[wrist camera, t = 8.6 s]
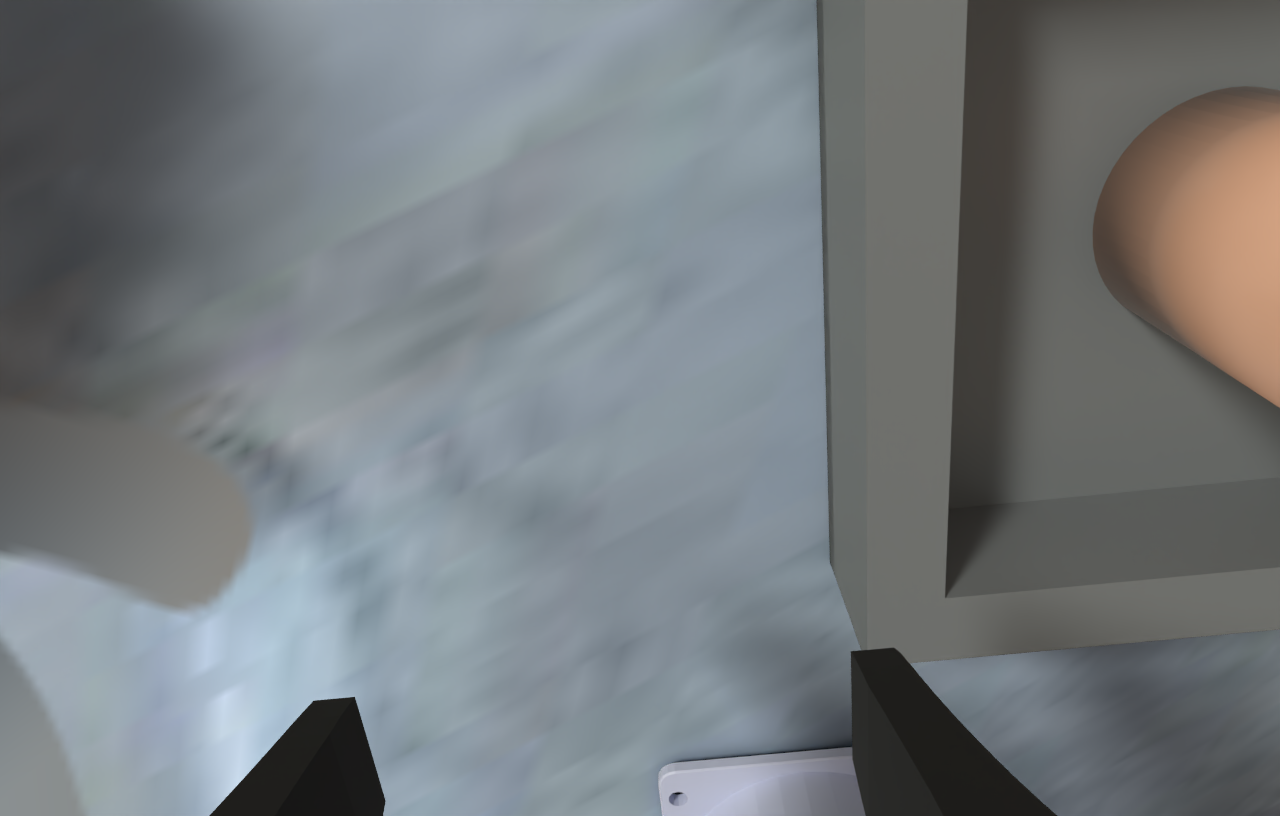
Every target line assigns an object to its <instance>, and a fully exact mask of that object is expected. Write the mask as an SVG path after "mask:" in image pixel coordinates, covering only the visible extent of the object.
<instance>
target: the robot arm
mask: <svg viewBox="0 0 1280 816" xmlns="http://www.w3.org/2000/svg"><path fill="white" fill-rule="evenodd" d="M851 684H852V747H846V748H835V749H824V750H813V751H801V752H790V753H779V754H768V755H756V756H745V757H734V758H722V759H711V760H700V761H689V762H677V763H671V764H668V765H666V766H664V767H663V768H662V769H661V770H660V772H659V775H658V785H659V793H660V801H661V809H662V816H1057V815H1056V814H1055V813H1054V812H1052V811H1051V810H1050V809H1049V808H1048V807H1047V806H1046V805H1044V804H1043V803H1042V802H1041V801H1040V800H1039V799H1038V798H1037V797H1036V796H1034V795H1033V794H1032V793H1031V792H1030V791H1029V790H1028V789H1027V788H1026V787H1025V786H1024V785H1023V784H1021V783H1020V782H1019V781H1018V780H1017V779H1016V778H1015V777H1014V776H1013V775H1012V774H1011V773H1010V772H1009V771H1008V770H1007V769H1006V768H1005V767H1004V766H1003V765H1002V764H1001V763H1000V762H999V761H997V760H996V759H995V758H994V757H993V755H992V754H991V753H990V752H989V751H988V750H987V749H986V748H985V747H984V746H983V745H982V744H981V743H980V742H979V741H978V740H977V739H976V738H975V737H974V736H973V735H972V734H971V733H970V732H969V731H968V730H967V729H966V728H965V727H964V726H963V724H962V723H961V722H960V721H959V720H958V719H957V718H956V717H955V716H954V715H953V714H952V713H951V711H950V710H949V709H948V708H947V707H946V706H945V705H944V704H943V702H942V701H941V700H940V699H939V698H938V697H937V696H936V695H935V693H934V692H933V691H932V690H931V689H930V688H929V686H928V685H927V684H926V683H925V682H924V681H923V679H922V678H921V677H920V676H919V675H918V673H917V672H916V671H915V670H914V668H913V667H912V666H911V665H910V664H909V662H908V661H907V660H906V659H905V657H904V656H903V655H902V654H901V653H900V652H899V651H898V650H896V649H895V648H894V647H893V648H883V649H872V650H861V651H851ZM676 792H682V793H683V794H680V795H675V794H672V793H676ZM384 806H385V798H384V794H383V791H382V788H381V784H380V781H379V778H378V774H377V771H376V767H375V764H374V761H373V757H372V754H371V750H370V747H369V744H368V740H367V737H366V733H365V730H364V727H363V723H362V720H361V716H360V713H359V710H358V706H357V703H356V700H355V697H350V698H339V699H328V700H317V701H313V702H312V703H311V704H310V705H309V706H308V708H307V709H306V710H305V711H304V712H303V713H302V714H301V715H300V716H299V717H298V718H297V720H296V721H295V722H294V723H293V724H292V725H291V726H290V727H289V729H288V730H287V731H286V732H285V733H284V734H283V735H282V736H281V738H280V739H279V740H278V741H277V742H276V743H275V744H274V745H273V747H272V748H271V749H270V750H269V751H268V752H267V753H266V754H265V756H264V757H263V758H262V759H261V760H260V761H259V762H258V763H257V764H256V766H255V767H254V768H253V769H252V770H251V771H250V772H249V773H248V774H247V776H246V777H245V778H244V779H243V780H242V781H241V782H240V783H239V784H238V785H237V786H236V788H235V789H234V790H233V791H232V792H231V793H230V794H229V795H228V796H227V797H226V798H225V800H224V801H223V802H222V803H221V804H220V805H219V806H218V807H217V808H216V809H215V810H214V811H213V813H212V814H211V815H210V816H383V812H384Z"/></svg>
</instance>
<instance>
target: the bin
mask: <svg viewBox="0 0 1280 816" xmlns="http://www.w3.org/2000/svg"><path fill="white" fill-rule="evenodd" d="M817 29H818V72H819V115H820V157H821V200H822V243H823V285H824V328H825V371H826V414H827V456H828V499H829V542H830V563H831V566H832V569H833V572H834V575H835V577H836V580H837V583H838V586H839V589H840V591H841V594H842V597H843V600H844V603H845V605H846V608H847V611H848V614H849V617H850V620H851V622H852V625H853V628H854V631H855V634H856V636H857V639H858V642H859V645H860V648H861V650H872V649H883V648H893V647H894V648H895V649H896V650H898V651H899V652H900V653H901V654H902V655H903V656H904V657H905V659H906V660H907V661H908V662H909V663H917V662H928V661H939V660H950V659H961V658H972V657H983V656H994V655H1005V654H1016V653H1027V652H1038V651H1048V650H1059V649H1070V648H1081V647H1092V646H1103V645H1114V644H1125V643H1136V642H1147V641H1158V640H1169V639H1180V638H1191V637H1202V636H1213V635H1224V634H1235V633H1245V632H1256V631H1267V630H1278V629H1280V408H1279V407H1278V406H1276V405H1274V404H1273V403H1271V402H1270V401H1268V400H1267V399H1265V398H1264V397H1262V396H1261V395H1259V394H1257V393H1256V392H1254V391H1253V390H1251V389H1250V388H1248V387H1247V386H1245V385H1244V384H1242V383H1240V382H1239V381H1237V380H1236V379H1234V378H1233V377H1231V376H1230V375H1228V374H1227V373H1225V372H1223V371H1222V370H1220V369H1219V368H1217V367H1216V366H1214V365H1213V364H1211V363H1209V362H1208V361H1206V360H1205V359H1203V358H1202V357H1200V356H1199V355H1197V354H1196V353H1194V352H1192V351H1191V350H1189V349H1188V348H1186V347H1185V346H1183V345H1182V344H1180V343H1179V342H1177V341H1175V340H1174V339H1172V338H1171V337H1169V336H1168V335H1166V334H1165V333H1163V332H1162V331H1160V330H1158V329H1157V328H1155V327H1154V326H1152V325H1151V324H1149V323H1148V322H1146V321H1145V320H1143V319H1141V318H1140V317H1138V316H1137V315H1135V314H1134V313H1132V312H1131V311H1129V310H1128V309H1127V308H1125V307H1124V306H1122V305H1121V304H1120V303H1119V302H1118V301H1117V300H1116V299H1115V298H1114V297H1113V296H1112V294H1111V293H1110V291H1109V290H1108V289H1107V287H1106V286H1105V284H1104V282H1103V280H1102V278H1101V276H1100V274H1099V271H1098V268H1097V265H1096V262H1095V257H1094V250H1093V224H1094V216H1095V212H1096V208H1097V204H1098V200H1099V197H1100V194H1101V192H1102V189H1103V187H1104V184H1105V182H1106V180H1107V178H1108V176H1109V174H1110V173H1111V171H1112V169H1113V167H1114V166H1115V164H1116V163H1117V161H1118V160H1119V158H1120V157H1121V155H1122V154H1123V152H1124V151H1125V150H1126V149H1127V148H1128V146H1129V145H1130V144H1131V143H1132V142H1133V140H1134V139H1135V138H1136V137H1137V136H1138V135H1139V134H1140V133H1141V132H1142V131H1144V130H1145V129H1146V128H1147V127H1148V126H1149V125H1150V124H1151V123H1153V122H1154V121H1155V120H1157V119H1158V118H1159V117H1160V116H1162V115H1163V114H1165V113H1166V112H1168V111H1169V110H1171V109H1173V108H1174V107H1176V106H1177V105H1179V104H1181V103H1183V102H1186V101H1188V100H1190V99H1192V98H1194V97H1197V96H1199V95H1202V94H1205V93H1208V92H1211V91H1215V90H1220V89H1224V88H1230V87H1242V86H1250V87H1263V88H1269V89H1276V90H1280V0H817Z"/></svg>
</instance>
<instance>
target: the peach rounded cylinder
mask: <svg viewBox="0 0 1280 816" xmlns="http://www.w3.org/2000/svg"><path fill="white" fill-rule="evenodd" d="M1093 250H1094V257H1095V262H1096V265H1097V268H1098V271H1099V274H1100V276H1101V278H1102V280H1103V282H1104V284H1105V286H1106V287H1107V289H1108V290H1109V291H1110V293H1111V294H1112V296H1113V297H1114V298H1115V299H1116V300H1117V301H1118V302H1119V303H1120V304H1121V305H1122V306H1124V307H1125V308H1127V309H1128V310H1129V311H1131V312H1132V313H1134V314H1135V315H1137V316H1138V317H1140V318H1141V319H1143V320H1145V321H1146V322H1148V323H1149V324H1151V325H1152V326H1154V327H1155V328H1157V329H1158V330H1160V331H1162V332H1163V333H1165V334H1166V335H1168V336H1169V337H1171V338H1172V339H1174V340H1175V341H1177V342H1179V343H1180V344H1182V345H1183V346H1185V347H1186V348H1188V349H1189V350H1191V351H1192V352H1194V353H1196V354H1197V355H1199V356H1200V357H1202V358H1203V359H1205V360H1206V361H1208V362H1209V363H1211V364H1213V365H1214V366H1216V367H1217V368H1219V369H1220V370H1222V371H1223V372H1225V373H1227V374H1228V375H1230V376H1231V377H1233V378H1234V379H1236V380H1237V381H1239V382H1240V383H1242V384H1244V385H1245V386H1247V387H1248V388H1250V389H1251V390H1253V391H1254V392H1256V393H1257V394H1259V395H1261V396H1262V397H1264V398H1265V399H1267V400H1268V401H1270V402H1271V403H1273V404H1274V405H1276V406H1278V407H1279V408H1280V90H1276V89H1269V88H1263V87H1250V86H1242V87H1230V88H1224V89H1220V90H1215V91H1211V92H1208V93H1205V94H1202V95H1199V96H1197V97H1194V98H1192V99H1190V100H1188V101H1186V102H1183V103H1181V104H1179V105H1177V106H1176V107H1174V108H1173V109H1171V110H1169V111H1168V112H1166V113H1165V114H1163V115H1162V116H1160V117H1159V118H1158V119H1157V120H1155V121H1154V122H1153V123H1151V124H1150V125H1149V126H1148V127H1147V128H1146V129H1145V130H1144V131H1142V132H1141V133H1140V134H1139V135H1138V136H1137V137H1136V138H1135V139H1134V140H1133V142H1132V143H1131V144H1130V145H1129V146H1128V148H1127V149H1126V150H1125V151H1124V152H1123V154H1122V155H1121V157H1120V158H1119V160H1118V161H1117V163H1116V164H1115V166H1114V167H1113V169H1112V171H1111V173H1110V174H1109V176H1108V178H1107V180H1106V182H1105V184H1104V187H1103V189H1102V192H1101V194H1100V197H1099V200H1098V204H1097V208H1096V212H1095V216H1094V224H1093Z"/></svg>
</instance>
